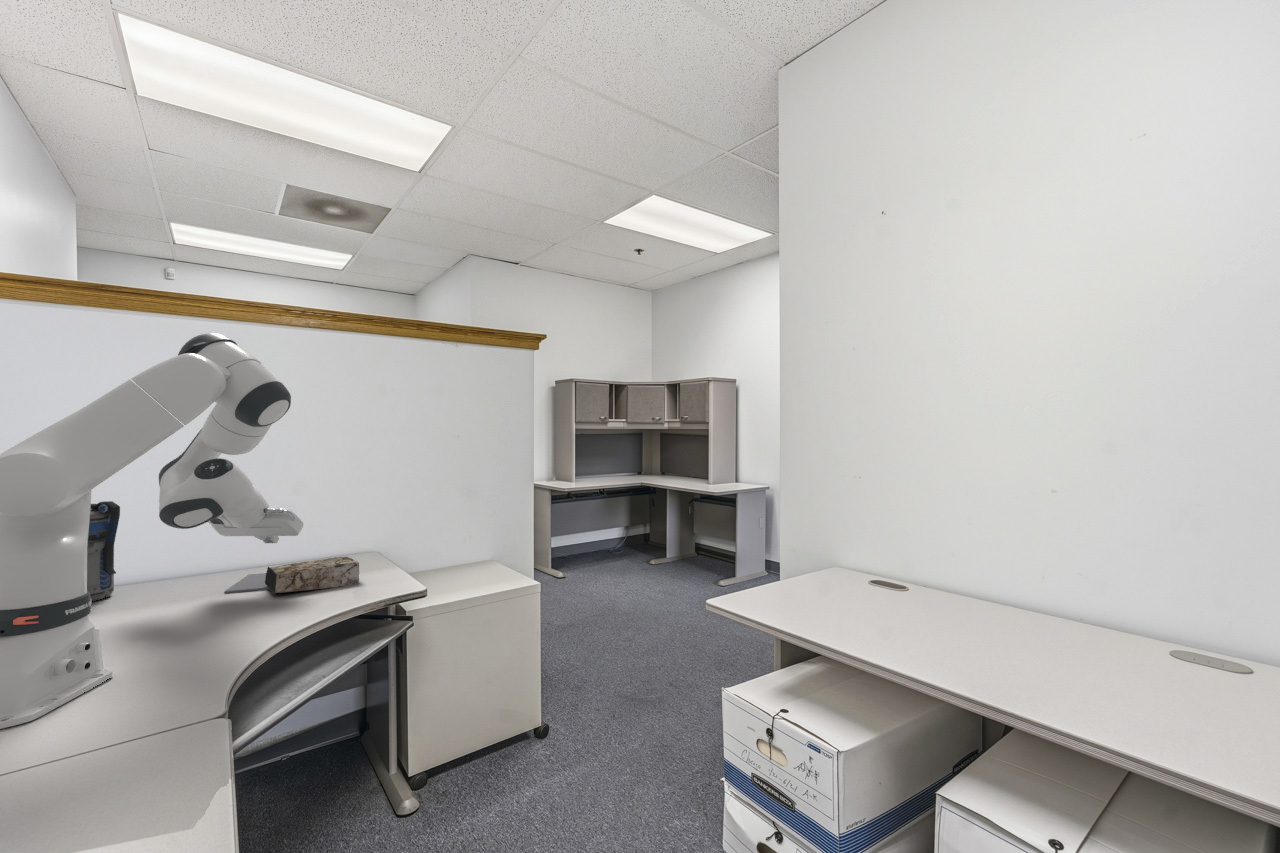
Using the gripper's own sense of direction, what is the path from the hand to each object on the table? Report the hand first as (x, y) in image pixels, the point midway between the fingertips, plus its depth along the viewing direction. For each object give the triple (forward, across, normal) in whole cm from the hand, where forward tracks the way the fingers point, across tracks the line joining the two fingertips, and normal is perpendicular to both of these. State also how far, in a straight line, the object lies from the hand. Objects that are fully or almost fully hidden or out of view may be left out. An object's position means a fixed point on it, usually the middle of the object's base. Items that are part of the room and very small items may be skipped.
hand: (272, 541), depth 146 cm
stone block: (+3, -2, +10) cm, 11 cm away
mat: (+13, +3, +4) cm, 14 cm away
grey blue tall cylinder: (+2, +39, +15) cm, 42 cm away
